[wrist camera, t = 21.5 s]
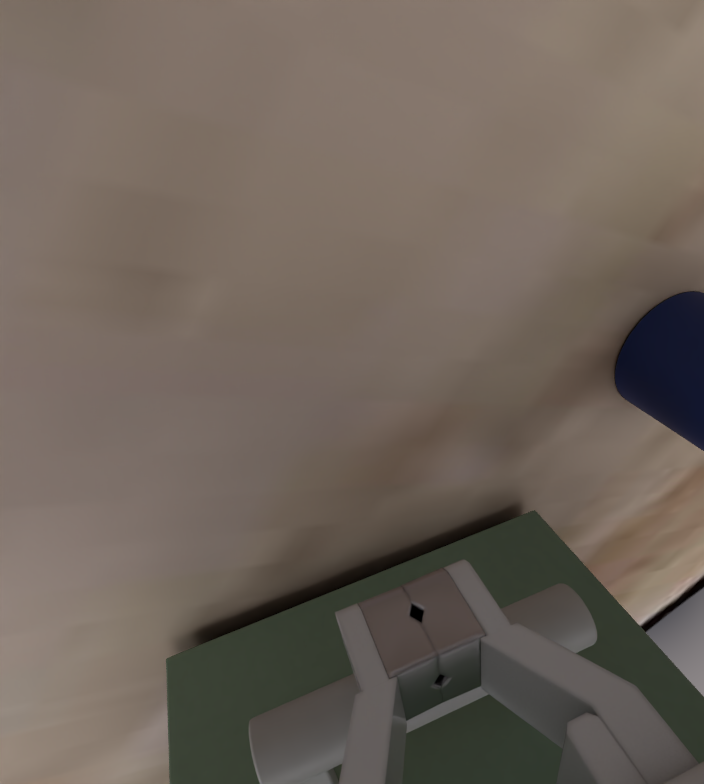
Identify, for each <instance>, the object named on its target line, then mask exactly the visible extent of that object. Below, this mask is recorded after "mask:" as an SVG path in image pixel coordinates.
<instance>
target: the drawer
mask: <svg viewBox="0 0 704 784" xmlns="http://www.w3.org/2000/svg"><path fill="white" fill-rule="evenodd" d="M462 559H464V560H466V561H468V562H469V563H470V564H471V566H472V567H473V569H474V570H475V572H476V573H477V575H478V576H479V578H480V579H481V581H482V582H483V583H484V585H485V586H486V588H487V589H488V591H489V592H490V594H491V595H492V597H493V598H494V600H495V601H496V603H497V604H498V606H499V607H500V609H501V610H502V612H503V613H504V615H505V616H506V618H507V619H508V620H509V622H510V623H511V624H513V623H516V622H519V623H521V624H522V625H524V626H526V627H528V628H530V629H532V630H533V631H535V632H537V633H539V634H541V635H543V636H545V637H546V638H548V639H550V640H552V641H554V642H556V643H558V644H559V645H561V646H563V647H565V648H567V649H569V650H571V651H572V652H574V653H576V654H578V655H580V656H582V657H584V658H585V659H587V660H589V661H591V662H593V663H595V664H597V665H598V666H600V667H602V668H604V669H606V670H608V671H610V672H611V673H613V674H615V675H617V676H619V677H621V678H622V679H624V680H626V681H628V682H630V683H632V684H634V685H635V686H637V688H638V689H639V690H640V691H641V692H642V694H643V695H644V696H645V697H646V699H647V700H648V701H649V702H650V704H651V705H652V706H653V707H654V709H655V710H656V711H657V712H658V713H659V715H660V716H661V717H662V718H663V720H664V721H665V722H666V723H667V725H668V726H669V727H670V728H671V730H672V731H673V732H674V733H675V735H676V736H677V737H678V738H679V739H680V741H681V742H682V743H683V744H684V746H685V747H686V748H687V749H688V751H689V752H690V753H691V754H692V756H693V757H694V758H695V759H696V760H697V762H698V763H701V762H703V761H704V697H703V696H702V695H701V693H700V692H699V691H698V690H697V689H696V688H695V687H694V686H693V685H692V684H691V682H690V681H689V680H688V679H687V678H686V677H685V676H684V675H683V674H682V672H681V671H680V670H679V669H678V668H677V667H676V666H675V665H674V664H673V663H672V661H671V660H670V659H669V658H668V657H667V656H666V655H665V654H664V653H663V651H662V650H661V649H660V648H659V647H658V646H657V645H656V644H655V643H654V642H653V640H652V639H651V638H650V637H649V636H648V635H647V634H646V633H645V631H644V630H643V629H642V628H641V627H640V626H639V625H638V624H637V623H636V622H635V620H634V619H633V618H632V617H631V616H630V615H629V614H628V613H627V612H626V610H625V609H624V608H623V607H622V606H621V605H620V604H619V603H618V602H617V600H616V599H615V598H614V597H613V596H612V595H611V594H610V593H609V592H608V591H607V589H606V588H605V587H604V586H603V585H602V584H601V583H600V582H599V581H598V579H597V578H596V577H595V576H594V575H593V574H592V573H591V572H590V571H589V570H588V568H587V567H586V566H585V565H584V564H583V563H582V562H581V561H580V560H579V558H578V557H577V556H576V555H575V554H574V553H573V552H572V551H571V550H570V549H569V547H568V546H567V545H566V544H565V543H564V542H563V541H562V540H561V539H560V537H559V536H558V535H557V534H556V533H555V532H554V531H553V530H552V529H551V527H550V526H549V525H548V524H547V523H546V522H545V521H544V520H543V519H542V518H541V516H540V515H539V514H538V513H537V512H536V511H535V510H533V511H531V512H528V513H526V514H523V515H521V516H518V517H516V518H513V519H511V520H509V521H506V522H504V523H501V524H499V525H496V526H494V527H491V528H489V529H486V530H484V531H481V532H479V533H476V534H474V535H471V536H469V537H466V538H464V539H461V540H459V541H456V542H454V543H451V544H449V545H447V546H444V547H442V548H439V549H437V550H434V551H432V552H429V553H427V554H424V555H422V556H419V557H417V558H414V559H412V560H409V561H407V562H404V563H402V564H399V565H397V566H394V567H392V568H390V569H387V570H385V571H382V572H380V573H377V574H375V575H372V576H370V577H367V578H365V579H362V580H360V581H357V582H355V583H352V584H350V585H347V586H345V587H342V588H340V589H337V590H335V591H332V592H330V593H328V594H325V595H323V596H320V597H318V598H315V599H313V600H310V601H308V602H305V603H303V604H300V605H298V606H295V607H293V608H290V609H288V610H285V611H283V612H280V613H278V614H275V615H273V616H271V617H268V618H266V619H263V620H261V621H258V622H256V623H253V624H251V625H248V626H246V627H243V628H241V629H238V630H236V631H233V632H231V633H228V634H226V635H223V636H221V637H218V638H216V639H213V640H211V641H209V642H206V643H204V644H201V645H199V646H196V647H194V648H191V649H189V650H186V651H184V652H181V653H179V654H176V655H174V656H171V657H169V658H167V659H166V670H167V706H168V741H169V777H170V784H339V779H340V774H341V768H342V763H343V757H344V752H345V747H346V741H347V736H348V731H349V725H350V720H351V714H352V709H353V704H354V698H355V694H357V693H359V692H360V691H359V688H358V686H357V683H356V680H355V677H354V674H353V671H352V668H351V665H350V662H349V659H348V656H347V653H346V649H345V646H344V643H343V640H342V636H341V633H340V629H339V626H338V623H337V619H336V616H335V612H337V611H339V610H342V609H344V608H347V607H349V606H351V605H354V604H356V603H360V602H362V601H365V600H367V599H370V598H372V597H374V596H377V595H379V594H382V593H384V592H387V591H389V590H392V589H394V588H396V587H399V586H401V585H403V584H405V583H407V582H410V581H412V580H414V579H417V578H419V577H421V576H423V575H426V574H428V573H430V572H433V571H435V570H437V569H440V568H443V567H446V566H448V565H450V564H453V563H455V562H457V561H460V560H462ZM406 722H407V731H406V743H405V756H404V768H403V781H402V784H556V782H557V776H558V771H559V766H560V760H561V755H562V748H561V747H559V746H558V745H557V744H555V743H554V742H553V741H551V740H550V739H549V738H547V737H546V736H545V735H543V734H542V733H541V732H539V731H538V730H537V729H535V728H534V727H532V726H531V725H530V724H528V723H527V722H526V721H524V720H523V719H522V718H520V717H519V716H518V715H516V714H515V713H514V712H512V711H511V710H510V709H508V708H507V707H505V706H504V705H503V704H501V703H500V702H499V701H497V700H496V699H495V698H493V697H492V696H491V695H489V694H488V693H487V692H485V691H484V690H483V689H481V686H480V687H478V688H476V689H473V690H471V691H469V692H466V693H464V694H462V695H459V696H457V697H455V698H453V699H450V700H448V701H446V702H443V703H441V704H439V705H437V706H435V707H433V708H431V709H429V710H427V711H425V712H423V713H421V714H419V715H417V716H415V717H413V718H411V719H409V720H408V721H406Z"/></svg>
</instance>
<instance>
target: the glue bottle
mask: <svg viewBox="0 0 704 784" xmlns="http://www.w3.org/2000/svg"><path fill="white" fill-rule="evenodd" d="M615 382H616V387H617V389H618V391H619V393H620V394H621V396H622V397H623V398H625V399H626V400H627V401H629V402H630V403H632V404H633V405H635V406H636V407H638V408H639V409H641V410H642V411H644V412H645V413H647V414H649V415H650V416H652V417H653V418H655V419H656V420H658V421H659V422H661V423H662V424H664V425H665V426H667V427H668V428H670V429H671V430H673V431H674V432H676V433H677V434H679V435H680V436H682V437H683V438H685V439H686V440H688V441H689V442H691V443H692V444H694V445H695V446H697V447H698V448H700V449H701V450H703V451H704V293H701V292H685V293H681V294H678V295H675V296H673V297H671V298H669V299H667V300H665V301H663V302H662V303H661V304H659V305H658V306H656V307H655V308H654V309H653V310H651V311H650V312H649V313H648V314H647V315H646V316H645V317H644V318H643V319H642V320H641V321H640V322H639V323H638V324H637V326H636V327H635V328H634V330H633V331H632V332H631V334H630V335H629V337H628V338H627V340H626V342H625V344H624V345H623V347H622V350H621V352H620V354H619V357H618V360H617V364H616V369H615Z"/></svg>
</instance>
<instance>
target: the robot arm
mask: <svg viewBox="0 0 704 784" xmlns="http://www.w3.org/2000/svg"><path fill="white" fill-rule="evenodd" d="M335 616H336V619H337V623H338V626H339V629H340V633H341V636H342V640H343V643H344V646H345V649H346V653H347V656H348V659H349V662H350V665H351V668H352V671H353V674H354V677H355V680H356V683H357V686H358V688H359V691H360V692H359V693H357V694H355V698H354V704H353V709H352V714H351V720H350V725H349V731H348V736H347V741H346V747H345V752H344V757H343V763H342V768H341V774H340V779H339V784H402V781H403V768H404V756H405V743H406V731H407V722H406V721H408V720H409V719H411V718H413V717H415V716H417V715H419V714H421V713H423V712H425V711H427V710H429V709H431V708H433V707H435V706H437V705H439V704H441V703H443V702H446V701H448V700H450V699H453V698H455V697H457V696H459V695H462V694H464V693H466V692H469V691H471V690H473V689H476V688H478V687H480V686H481V689H483V690H484V691H485V692H487V693H488V694H489V695H491V696H492V697H493V698H495V699H496V700H497V701H499V702H500V703H501V704H503V705H504V706H505V707H507V708H508V709H510V710H511V711H512V712H514V713H515V714H516V715H518V716H519V717H520V718H522V719H523V720H524V721H526V722H527V723H528V724H530V725H531V726H532V727H534V728H535V729H537V730H538V731H539V732H541V733H542V734H543V735H545V736H546V737H547V738H549V739H550V740H551V741H553V742H554V743H555V744H557V745H558V746H559V747H561V748H562V755H561V760H560V766H559V771H558V776H557V782H556V784H704V761H703V762H701V763H698V762H697V760H696V759H695V758H694V757H693V756H692V754H691V753H690V752H689V751H688V749H687V748H686V747H685V746H684V744H683V743H682V742H681V741H680V739H679V738H678V737H677V736H676V735H675V733H674V732H673V731H672V730H671V728H670V727H669V726H668V725H667V723H666V722H665V721H664V720H663V718H662V717H661V716H660V715H659V713H658V712H657V711H656V710H655V709H654V707H653V706H652V705H651V704H650V702H649V701H648V700H647V699H646V697H645V696H644V695H643V694H642V692H641V691H640V690H639V689H638V688H637V686H635V685H634V684H632V683H630V682H628V681H626V680H624V679H622V678H621V677H619V676H617V675H615V674H613V673H611V672H610V671H608V670H606V669H604V668H602V667H600V666H598V665H597V664H595V663H593V662H591V661H589V660H587V659H585V658H584V657H582V656H580V655H578V654H576V653H574V652H572V651H571V650H569V649H567V648H565V647H563V646H561V645H559V644H558V643H556V642H554V641H552V640H550V639H548V638H546V637H545V636H543V635H541V634H539V633H537V632H535V631H533V630H532V629H530V628H528V627H526V626H524V625H522V624H521V623H519V622H516V623H513V624H511V623H510V622H509V620H508V619H507V618H506V616H505V615H504V613H503V612H502V610H501V609H500V607H499V606H498V604H497V603H496V601H495V600H494V598H493V597H492V595H491V594H490V592H489V591H488V589H487V588H486V586H485V585H484V583H483V582H482V581H481V579H480V578H479V576H478V575H477V573H476V572H475V570H474V569H473V567H472V566H471V564H470V563H469V562H468V561H466V560H464V559H462V560H460V561H457V562H455V563H453V564H450V565H448V566H446V567H443V568H440V569H437V570H435V571H433V572H430V573H428V574H426V575H423V576H421V577H419V578H417V579H414V580H412V581H410V582H407V583H405V584H403V585H401V586H399V587H396V588H394V589H392V590H389V591H387V592H384V593H382V594H379V595H377V596H374V597H372V598H370V599H367V600H365V601H362V602H360V603H356V604H354V605H351V606H349V607H347V608H344V609H342V610H339V611H337V612H335Z"/></svg>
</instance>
